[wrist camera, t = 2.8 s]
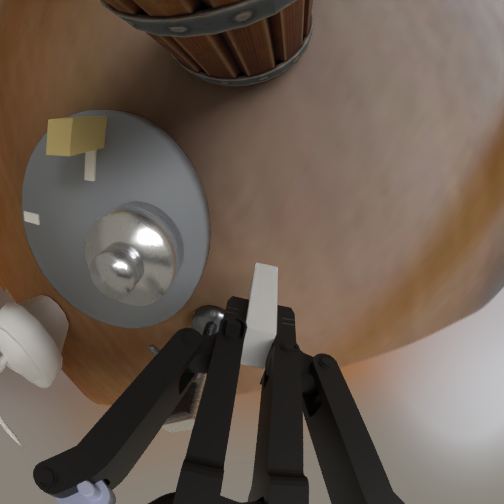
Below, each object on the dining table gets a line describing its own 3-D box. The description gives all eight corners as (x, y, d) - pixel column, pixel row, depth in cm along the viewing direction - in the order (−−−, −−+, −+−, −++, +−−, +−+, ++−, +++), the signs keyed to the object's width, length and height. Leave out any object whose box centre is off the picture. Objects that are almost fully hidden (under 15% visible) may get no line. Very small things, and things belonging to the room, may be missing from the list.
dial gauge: (240, 325, 27) (219, 434, 16) (212, 340, 28) (183, 440, 17) (194, 278, 25) (143, 384, 14) (167, 298, 26) (114, 395, 15)
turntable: (35, 113, 17) (-10, 120, 12) (231, 120, 17) (211, 116, 12) (47, 286, 26) (18, 314, 20) (198, 337, 26) (182, 383, 21)
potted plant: (22, 301, 31) (-64, 404, 8) (36, 262, 27) (-85, 387, 4) (75, 357, 34) (6, 474, 12) (101, 330, 30) (9, 486, 8)
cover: (105, 194, 18) (63, 216, 14) (188, 210, 18) (161, 239, 14) (107, 272, 21) (76, 305, 17) (181, 293, 21) (159, 334, 17)
